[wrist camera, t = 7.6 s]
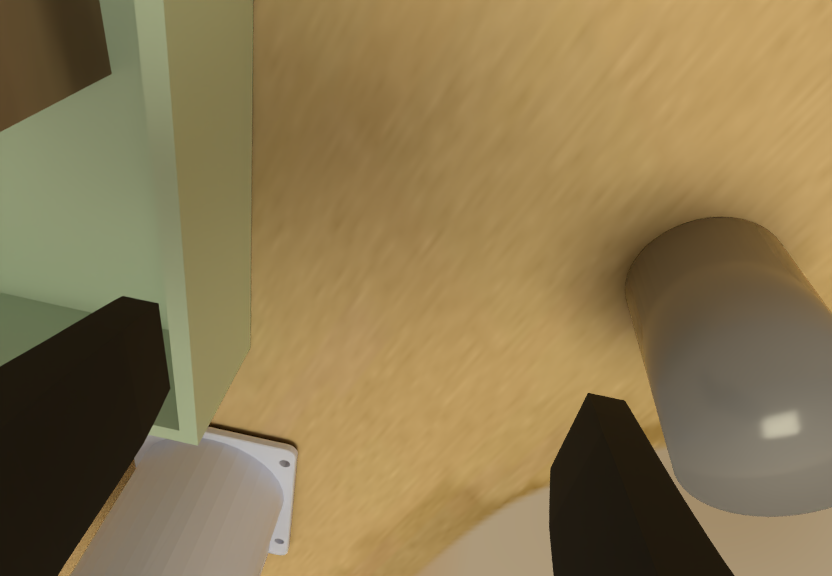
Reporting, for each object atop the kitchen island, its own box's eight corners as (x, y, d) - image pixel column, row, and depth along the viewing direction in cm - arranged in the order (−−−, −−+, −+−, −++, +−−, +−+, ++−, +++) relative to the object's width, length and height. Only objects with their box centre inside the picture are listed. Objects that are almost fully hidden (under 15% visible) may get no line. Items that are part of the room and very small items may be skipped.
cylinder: (738, 353, 21) (824, 533, 15) (602, 322, 21) (638, 492, 15) (821, 237, 18) (967, 408, 12) (663, 201, 18) (735, 356, 12)
